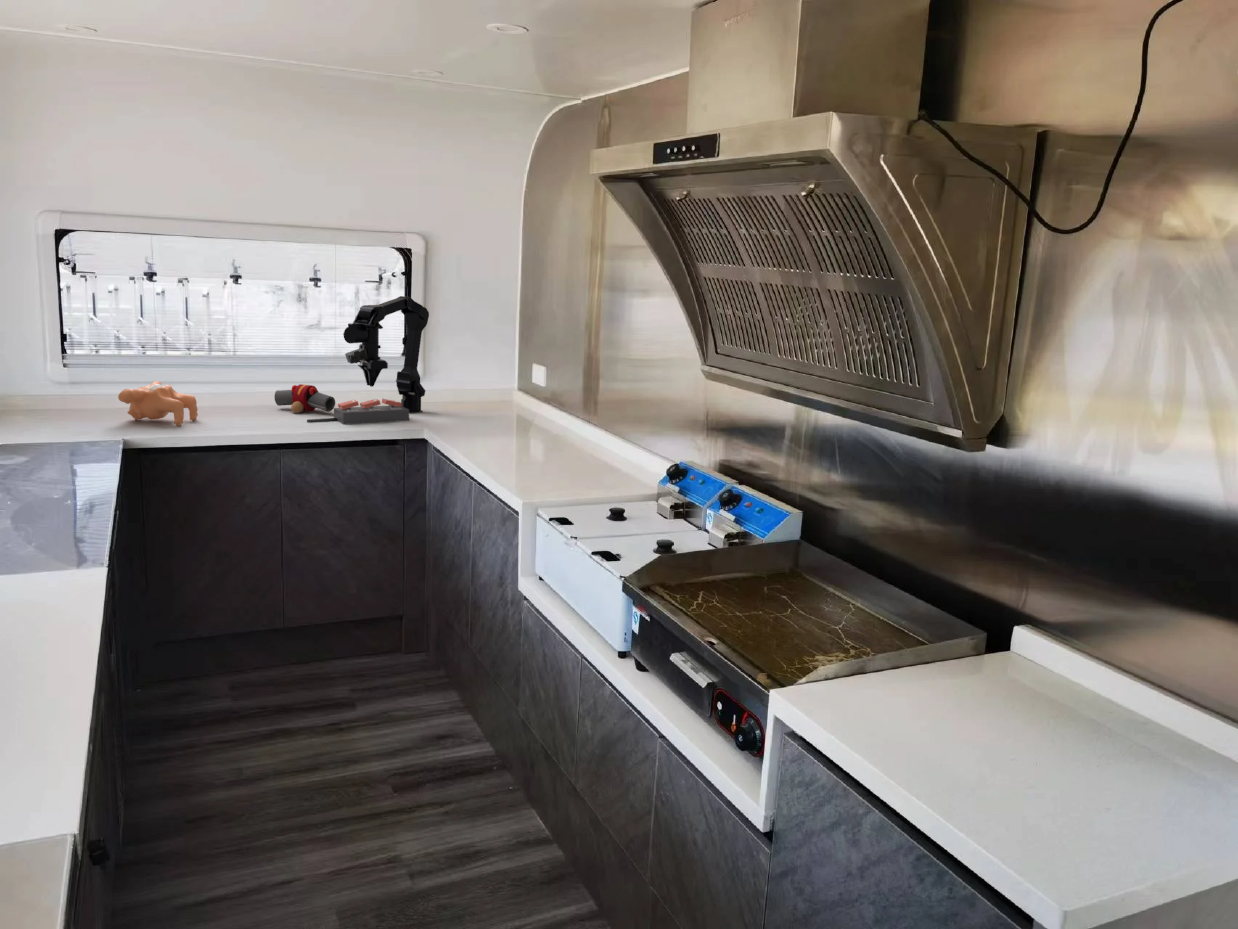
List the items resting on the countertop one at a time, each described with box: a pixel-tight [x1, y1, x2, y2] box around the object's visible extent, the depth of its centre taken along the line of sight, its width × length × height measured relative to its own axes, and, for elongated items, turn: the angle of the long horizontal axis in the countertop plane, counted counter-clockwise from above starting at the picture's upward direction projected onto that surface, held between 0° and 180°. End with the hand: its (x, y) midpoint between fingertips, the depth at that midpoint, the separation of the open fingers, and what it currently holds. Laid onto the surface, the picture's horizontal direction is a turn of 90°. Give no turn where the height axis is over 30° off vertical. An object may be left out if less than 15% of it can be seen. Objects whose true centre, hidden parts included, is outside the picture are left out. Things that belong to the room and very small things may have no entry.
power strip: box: [306, 405, 410, 425], centre depth 341 cm, size 34×10×5 cm, turn 124°
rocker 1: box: [337, 399, 360, 410], centre depth 340 cm, size 6×4×2 cm, turn 124°
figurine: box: [117, 380, 199, 427], centre depth 319 cm, size 14×25×20 cm
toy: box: [274, 384, 336, 415], centre depth 353 cm, size 23×10×15 cm
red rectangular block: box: [381, 398, 402, 407], centre depth 349 cm, size 6×4×2 cm, turn 125°
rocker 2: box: [359, 398, 381, 409], centre depth 344 cm, size 6×4×2 cm, turn 124°
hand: (370, 385), depth 343 cm, fingers open, 3 cm apart
